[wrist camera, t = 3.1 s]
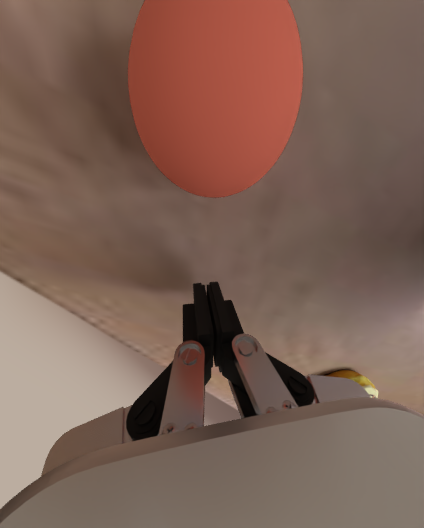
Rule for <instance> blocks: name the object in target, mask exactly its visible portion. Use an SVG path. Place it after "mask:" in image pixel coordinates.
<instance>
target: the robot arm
mask: <svg viewBox="0 0 424 528" xmlns="http://www.w3.org/2000/svg"><path fill="white" fill-rule="evenodd" d="M193 292H194V304H184V305H183V343H182V344H180V345H179V346H178V348H177V349H176V351H175V354H174V359H173V362H172V363H171V364H170V365H169V366H168V367H167V368H166V369H165V370H164V371H163V372H162V373H161V374H160V375H159V376H158V378H157V379H156V380H155V381H154V382H153V383H152V384H151V385H150V386H149V387H148V388H147V389H146V390H145V391H144V392H143V394H142V395H141V396H140V397H139V398H138V399H137V400H136V401H135V402H134V404H133V405H131V406H129V407H127V408H123V407H122V408H119V409H117V410H115V411H112V412H110V413H108V414H105V415H103V416H101V417H98V418H96V419H94V420H91V421H89V422H87V423H85V424H82V425H80V426H77V427H75V428H73V429H71V430H69V431H68V432H66V433H64V434H63V435H62V436H61V437H60V438H59V439H58V440H57V441H56V443H55V444H54V445H53V447H52V448H51V450H50V452H49V454H48V456H47V459H46V461H45V465H44V468H43V471H42V475H41V477H40V478H39V479H37V480H36V481H34V482H33V483H31V484H30V485H28V486H27V487H26V488H24V489H23V490H22V491H21V492H19V493H18V494H17V495H16V496H14V497H13V498H12V499H11V500H10V501H9V502H8V503H6V504H5V505H4V506H3V507H2V508H1V509H0V528H424V415H422V414H421V413H419V412H417V411H415V410H413V409H411V408H408V407H406V406H403V405H401V404H398V403H394V402H391V401H388V400H383V399H378V398H371V397H370V396H369V394H368V393H367V391H366V390H365V389H364V388H363V387H362V386H361V385H360V384H358V383H357V382H355V381H353V380H351V379H347V378H339V377H329V376H319V375H308V376H303V375H302V374H301V373H299V372H298V371H296V370H294V369H293V368H291V367H289V366H287V365H286V364H284V363H282V362H281V361H279V360H277V359H276V358H274V357H272V356H271V355H269V354H267V353H265V352H264V350H263V348H262V347H261V345H260V343H259V342H258V341H257V339H256V338H254V337H253V336H251V335H249V334H244V332H243V329H242V327H241V324H240V321H239V319H238V316H237V313H236V311H235V308H234V305H233V303H232V301H231V300H225V301H224V299H223V296H222V293H221V290H220V286H219V283H218V282H210V285H207V295H206V290H205V285H201V283H196V284H193ZM213 356H214V362H215V367H217V366H219V371H220V372H222V375H223V376H224V377H225V378H227V379H228V382H229V385H230V388H231V391H232V394H233V397H234V399H235V402H236V405H237V408H238V411H239V413H240V416H241V419H237V420H232V421H228V422H223V423H217V424H213V425H208V426H204V404H205V403H204V402H205V385H206V384H207V382H208V381H209V379H210V378H211V367H213Z"/></svg>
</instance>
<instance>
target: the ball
mask: <svg viewBox="0 0 424 528" xmlns="http://www.w3.org/2000/svg"><path fill="white" fill-rule="evenodd" d="M302 83H303V59H302V50H301V42H300V37H299V32H298V28H297V24H296V21H295V18H294V15H293V12H292V9H291V7H290V5H289V3H288V0H145V1H144V3H143V5H142V7H141V10H140V12H139V15H138V18H137V21H136V24H135V27H134V31H133V36H132V41H131V46H130V51H129V63H128V87H129V96H130V103H131V108H132V112H133V117H134V121H135V124H136V127H137V130H138V133H139V136H140V138H141V140H142V143H143V145H144V147H145V149H146V151H147V152H148V154H149V156H150V158H151V159H152V160H153V162H154V163H155V165H156V166H157V167H158V168H159V170H160V171H161V172H162V173H163V174H164V175H165V176H166V177H167V178H168V179H169V180H171V181H172V182H173V183H174V184H176V185H177V186H179V187H180V188H182V189H184V190H186V191H188V192H190V193H193V194H195V195H199V196H203V197H212V198H216V197H225V196H230V195H233V194H236V193H239V192H241V191H243V190H245V189H247V188H249V187H250V186H252V185H253V184H255V183H256V182H257V181H259V180H260V179H261V178H262V177H263V176H264V175H265V174H266V173H267V172H268V171H269V170H270V169H271V167H272V166H273V165H274V164H275V162H276V161H277V160H278V158H279V157H280V155H281V153H282V152H283V150H284V148H285V146H286V144H287V142H288V140H289V138H290V135H291V133H292V130H293V127H294V124H295V122H296V118H297V114H298V110H299V106H300V100H301V94H302Z"/></svg>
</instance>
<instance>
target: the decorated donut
mask: <svg viewBox="0 0 424 528" xmlns="http://www.w3.org/2000/svg"><path fill="white" fill-rule="evenodd" d="M325 376H329V377H339V378H347V379H351V380H353V381H355V382H357V383H358V384H360V385H361V386H362V387H363V388H364V389H365V390H366V391H367V393H368V394H369V396H370V397H371V398H377V397H378V391H377V390H376V389H375V386H374V385H373V384H372V383H371V382H370V380H368V379H367V378H366V377H364V376H362V375H361V374H359V373H357V372H354V371H349V370H341V371H337V372H333V373H331V374H329V375H325Z"/></svg>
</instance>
